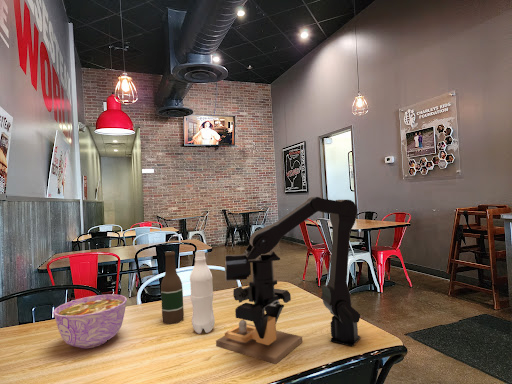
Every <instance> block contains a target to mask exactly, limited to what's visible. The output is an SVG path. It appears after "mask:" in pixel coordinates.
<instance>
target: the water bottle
mask: <svg viewBox="0 0 512 384" xmlns="http://www.w3.org/2000/svg"><path fill="white" fill-rule="evenodd" d="M194 254H195V256H194V257H195V258H194V261H195V263H194V265H193V268H192V271H191V273H190V276H189V281H190V301H191V305H192V314H191V315H192V316H191V325H192V328H193V330H194V332H195V333H196V334H202V332H203V330H204V332H205V333H206V334H207V333H210V332H211V331H212V330H213V329H214V327H215V323H216V320H215V319H216V317H215V314H214V309H213V301H214V292H213V291H214V289H213V274H212V271H211V270H210V268H209V265H208V264H207V262H206V260H207V258H206V253H205V251H203V250H202V251H201V250H200V251H199V250H198V251H195V253H194Z"/></svg>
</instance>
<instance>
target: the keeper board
mask: <svg viewBox="0 0 512 384" xmlns="http://www.w3.org/2000/svg"><path fill="white" fill-rule="evenodd" d="M238 325H239V332H237V333H236V334H240V335H244V336H245V335H246V334H248V333H250V332H248V331H247V325H249V326H253V327H255V325H254V324H250V323H247V320H243V319H240V321H239V322H238ZM302 343H303V336H301V335H297V334H292V333H290V332H289V333H288V332H285V331H280V330H276V340H275V341H274V342H272V343H271V344H270V345H265V344H262V343H258V342H256V340H254V339H250V340H249V341H247V342H246V343H245V342H241V341H238V340H234V339H230V338H227V337H225V335H223V336H221V337H220V338H218V339H216V340H215V345H216V347H219V348H221V349H222V348H223V349H226V350H229V351H233V352H235V353H239V354H241V355H244V356H249V357H252V358H255V359H258V360H261V361H265V362H267V363H272V364H275V365H277V364H278V363H279V362H280V361H281V360H282V359H284V358H285V357H286V356H287V355H289V354H290V353H291V352H292V351H293V350H294V349H296V348H297V347H298V346H299V345H301V344H302Z"/></svg>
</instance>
